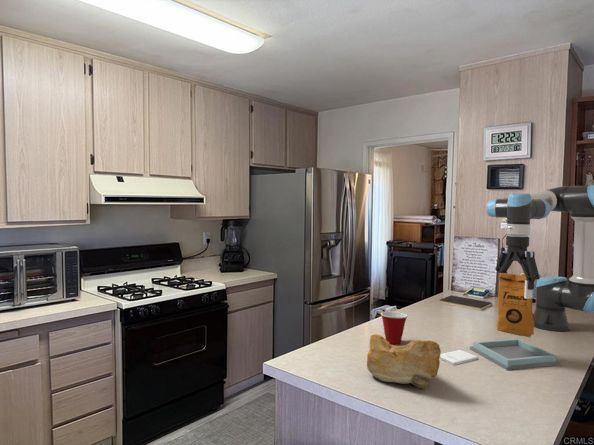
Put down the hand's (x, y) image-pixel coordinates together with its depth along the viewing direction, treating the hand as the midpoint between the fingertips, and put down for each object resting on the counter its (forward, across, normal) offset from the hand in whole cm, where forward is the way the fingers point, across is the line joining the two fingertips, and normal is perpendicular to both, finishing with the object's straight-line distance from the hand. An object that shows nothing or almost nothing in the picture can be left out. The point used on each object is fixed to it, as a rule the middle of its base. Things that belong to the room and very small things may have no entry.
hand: (515, 294), depth 150 cm
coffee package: (+15, 0, 0) cm, 15 cm away
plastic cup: (+24, -23, -37) cm, 50 cm away
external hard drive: (+24, -3, -22) cm, 33 cm away
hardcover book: (+24, -72, +31) cm, 82 cm away
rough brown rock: (+24, +9, -48) cm, 54 cm away
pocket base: (+24, 0, 0) cm, 24 cm away
